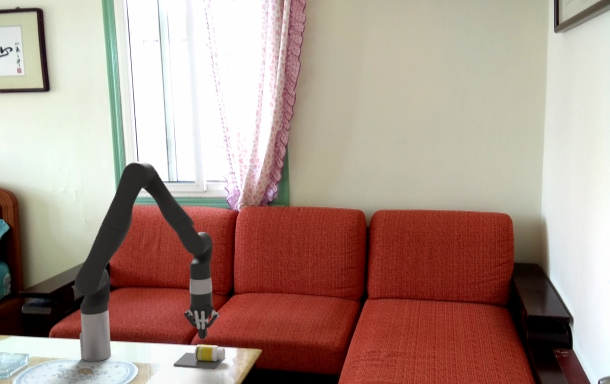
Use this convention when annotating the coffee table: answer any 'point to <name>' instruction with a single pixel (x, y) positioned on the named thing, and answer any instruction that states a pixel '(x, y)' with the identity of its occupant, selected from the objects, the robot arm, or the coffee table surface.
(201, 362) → the rubber mat
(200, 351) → the supplement bottle
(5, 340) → the coffee table surface
